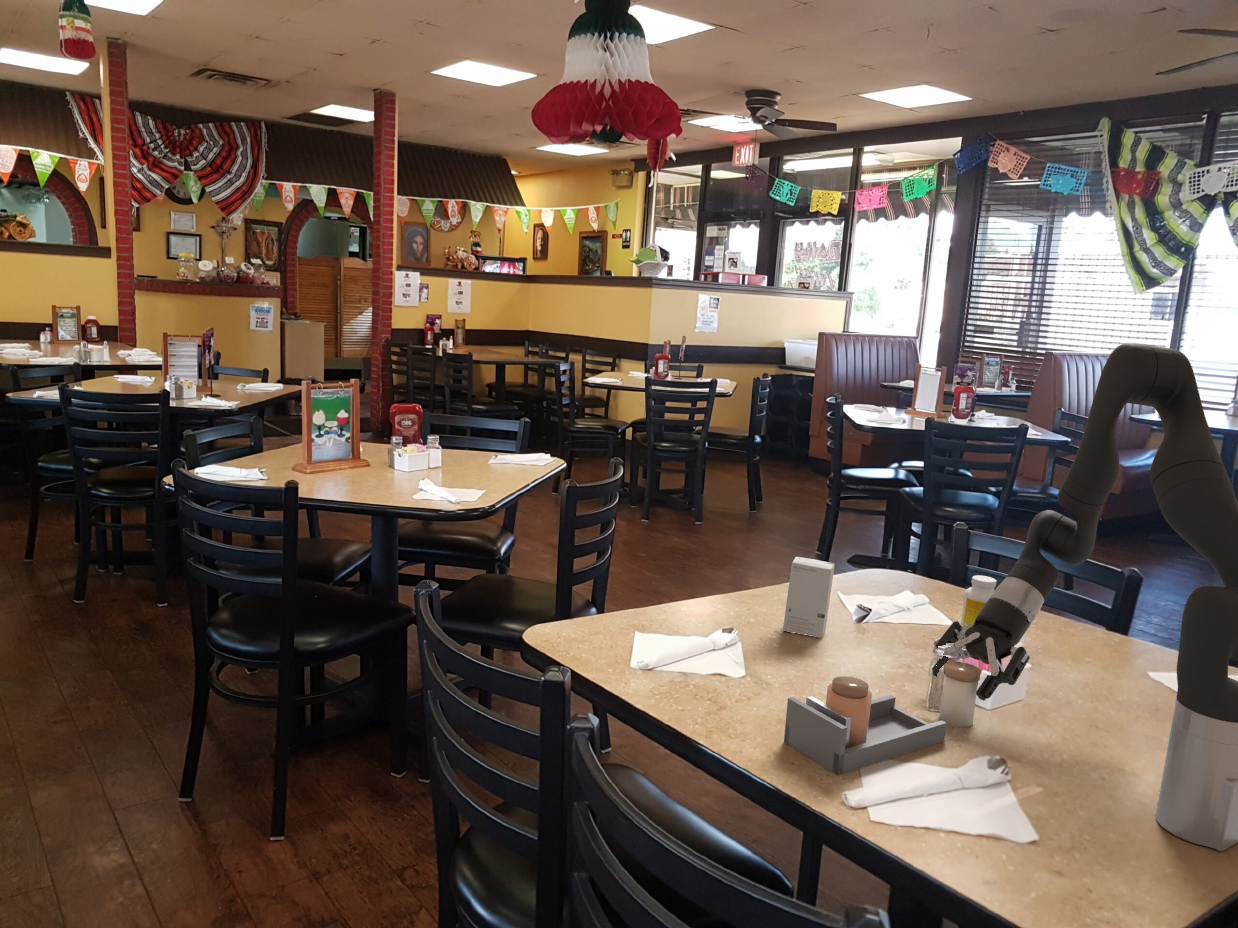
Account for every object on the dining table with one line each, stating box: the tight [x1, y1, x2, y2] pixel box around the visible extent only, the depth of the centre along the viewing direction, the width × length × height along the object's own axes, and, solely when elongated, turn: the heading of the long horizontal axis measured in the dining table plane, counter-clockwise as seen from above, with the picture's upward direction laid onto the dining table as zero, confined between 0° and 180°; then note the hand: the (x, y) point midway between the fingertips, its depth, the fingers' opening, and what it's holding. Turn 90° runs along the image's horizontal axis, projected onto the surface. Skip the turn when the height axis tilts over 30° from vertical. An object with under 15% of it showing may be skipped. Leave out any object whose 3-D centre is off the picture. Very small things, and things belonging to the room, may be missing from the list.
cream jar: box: [938, 661, 982, 728], centre depth 151 cm, size 6×6×9 cm
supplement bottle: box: [960, 574, 997, 639], centre depth 190 cm, size 7×7×13 cm
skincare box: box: [782, 556, 836, 639], centre depth 188 cm, size 8×6×15 cm
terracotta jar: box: [825, 675, 873, 748], centre depth 137 cm, size 6×6×10 cm
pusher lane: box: [783, 694, 948, 776], centre depth 140 cm, size 11×23×8 cm, turn 123°
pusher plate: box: [805, 695, 851, 749], centre depth 135 cm, size 8×2×7 cm, turn 33°
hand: (957, 687), depth 151 cm, fingers open, 8 cm apart
